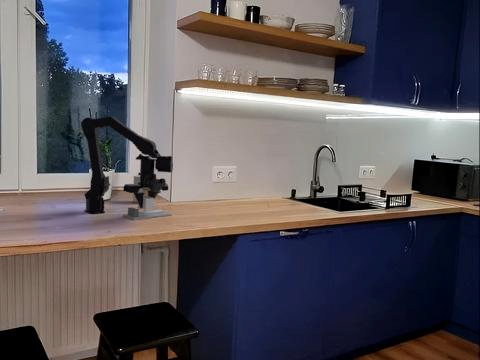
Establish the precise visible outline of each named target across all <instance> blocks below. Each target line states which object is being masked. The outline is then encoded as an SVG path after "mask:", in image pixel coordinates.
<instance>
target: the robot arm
mask: <svg viewBox="0 0 480 360" xmlns="http://www.w3.org/2000/svg"><path fill="white" fill-rule="evenodd" d="M80 126H81V127H80V128H81V130H82V133H83V135H84V137H85V139H86V141H87V149H88V154H89V163H90V169H91V177H90V178H91V179H90V187H89V188H90V189H89V190H88V191H86V192H85V193H84V197H85V209H84V210H83V212H85V213H88V214H90V215H95V214H103V213H106V211H105V200H104V195H105V194H107V192H108V191H109V190H110V186H111V184H110V176H109V175H107V176H106V175H105V173H104V168H103V161H102V154H101V147H100V146H101V145H100V140H99V139H100V133H101V129H103V128H107V127H109V128H111V129H112V130H114V131H115V132H116V133H118V134H119V135H121V136H122V137H124V138H125V139H126V140H129V142H131V143H132V144H133V145H134V147H135V148H136V149H137V150H138V151H139V152H140V153H139V154H138V156H136V157H135V160H139V161H140V165H139V166H140V167H139V168H140V169H139V170H140V171H139V172H137V175H140V182H138V185H140V186H138V185H135V184H134V183H129V184H128V183H125V184H124V185H123V188H122V189H123V192H125V193H129V194H133V193H134V195H135V197H136V199H137V201H138V203H137V205H138V204H139V206H140V208H142V207H143V195H144V194H145V193H143V190H148V189H150V190H148V196H149V197H152V198H154V200H155V199H156V197H157V196H158V194H161V193H162V192H164V191H165V192H166V191H169V185H168V183H166V179H165V178H157V174H156V173H155V170H156V171H157V172H158V173H173V169H174V163H173V156H172V155H167V156H166V155H161V154H160V153H159V151H158V149H157V144H156V142H155V141H154V140H151V139H149V138H146V137H144V136H141V135H139V134H138V133H136V132H135V131H134V130H132V129H131V128H129V127H128V126H127V125H125V124H124V123H123V122H122V121H120V120H119V119H117V118H116V117H115V116H111V115H110V116H105V117H100V118H99V117H98V118H96V117H85V118H83V119H82V121H81V123H80Z"/></svg>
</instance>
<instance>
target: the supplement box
mask: <svg viewBox="0 0 480 360" xmlns="http://www.w3.org/2000/svg"><path fill="white" fill-rule="evenodd" d="M138 182H140V175H138V174H136V175H133V184H135V185H138ZM138 186H140V185H138ZM148 190H150V189H148ZM148 190H143V193H145V194H144V195H143V196H148ZM132 197H133V198H132V203H136V204H138V201H137V199H136V197H135V195H134V193H132Z"/></svg>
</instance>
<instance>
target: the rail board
mask: <svg viewBox="0 0 480 360" xmlns="http://www.w3.org/2000/svg"><path fill="white" fill-rule="evenodd" d="M144 211H145V210H142V211H140V209H139V210H138V208H135V207H128V208H127V213H123V214H122V216H123V217H125V218H128V219H131V220H133V221H138V220H145V219H153V218H161V217H171V216H172V213H169V212H166V211H165V210H162V209H154V211H149V212H144Z"/></svg>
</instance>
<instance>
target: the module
mask: <svg viewBox="0 0 480 360" xmlns="http://www.w3.org/2000/svg"><path fill="white" fill-rule="evenodd" d="M137 209H138V210H139V211H140V210H143V211H144V212H149V211H154V210H155V199H154V198H152V197H149V196H143V207H142V208H140V206H139V204H138V203H137Z"/></svg>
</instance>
